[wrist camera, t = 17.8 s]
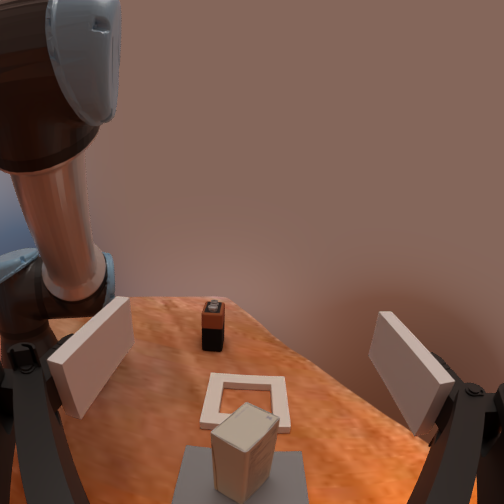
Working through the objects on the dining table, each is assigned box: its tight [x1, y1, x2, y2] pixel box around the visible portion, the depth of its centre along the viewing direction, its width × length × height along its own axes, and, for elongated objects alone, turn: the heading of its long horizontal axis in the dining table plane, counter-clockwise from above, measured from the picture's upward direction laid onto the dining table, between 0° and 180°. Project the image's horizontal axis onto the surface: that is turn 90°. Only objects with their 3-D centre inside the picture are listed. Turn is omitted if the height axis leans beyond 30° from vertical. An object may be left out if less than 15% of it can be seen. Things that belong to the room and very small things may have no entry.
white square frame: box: [200, 373, 291, 433], centre depth 44 cm, size 13×13×2 cm
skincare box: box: [211, 402, 280, 504], centre depth 27 cm, size 6×4×12 cm
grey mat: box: [172, 445, 309, 504], centre depth 28 cm, size 16×12×1 cm
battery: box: [202, 300, 225, 351], centre depth 63 cm, size 4×7×10 cm, turn 1°
